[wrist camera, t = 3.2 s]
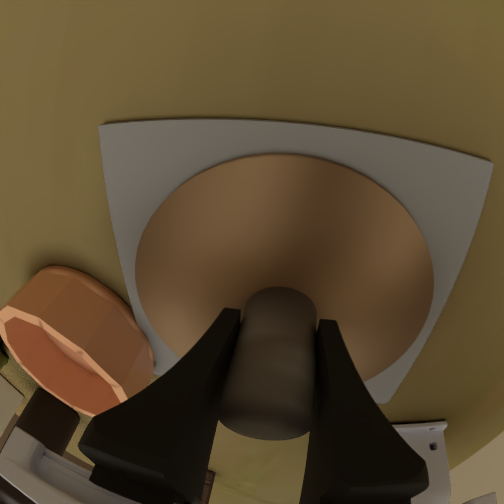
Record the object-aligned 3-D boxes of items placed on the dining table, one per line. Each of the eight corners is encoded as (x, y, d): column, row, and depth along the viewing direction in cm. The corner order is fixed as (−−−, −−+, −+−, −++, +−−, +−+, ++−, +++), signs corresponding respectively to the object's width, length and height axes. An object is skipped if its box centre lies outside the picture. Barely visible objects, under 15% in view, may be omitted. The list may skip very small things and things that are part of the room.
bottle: (84, 426, 31) (32, 541, 14) (43, 402, 30) (-12, 510, 14) (75, 406, 27) (12, 541, 10) (30, 379, 27) (-36, 501, 10)
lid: (468, 182, 9) (558, 268, 4) (378, 394, 16) (384, 479, 11) (120, 148, 10) (12, 211, 6) (165, 368, 17) (132, 445, 13)
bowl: (137, 279, 14) (97, 336, 11) (169, 391, 20) (150, 437, 16) (14, 255, 16) (-24, 291, 12) (62, 357, 21) (39, 392, 17)
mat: (489, 160, 9) (494, 163, 8) (386, 398, 17) (387, 403, 16) (104, 123, 10) (98, 125, 10) (155, 369, 18) (153, 374, 18)
